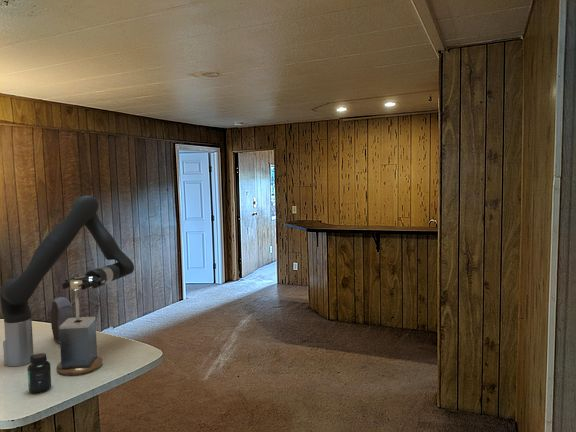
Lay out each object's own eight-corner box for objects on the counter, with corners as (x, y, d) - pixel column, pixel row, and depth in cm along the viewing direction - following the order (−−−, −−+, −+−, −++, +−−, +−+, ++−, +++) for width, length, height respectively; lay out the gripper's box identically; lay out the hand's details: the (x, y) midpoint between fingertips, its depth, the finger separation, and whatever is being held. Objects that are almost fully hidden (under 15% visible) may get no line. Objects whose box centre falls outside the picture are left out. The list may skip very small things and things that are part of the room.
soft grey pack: (50, 338, 201) (48, 295, 199) (70, 333, 206) (68, 291, 204) (60, 347, 189) (57, 301, 188) (80, 342, 195) (78, 298, 193)
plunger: (66, 343, 165) (63, 283, 163) (72, 336, 171) (69, 279, 169) (85, 341, 166) (82, 283, 164) (90, 335, 172) (88, 279, 170)
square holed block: (50, 377, 160) (47, 329, 159) (65, 359, 176) (62, 316, 174) (96, 374, 163) (94, 327, 161) (107, 357, 178) (105, 313, 177)
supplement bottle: (26, 395, 147) (24, 360, 146) (31, 386, 154) (29, 353, 153) (48, 392, 149) (46, 358, 148) (53, 383, 156) (51, 350, 155)
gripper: (83, 267, 182) (55, 276, 166) (114, 268, 179) (89, 277, 163) (84, 285, 182) (56, 295, 166) (115, 286, 180) (90, 297, 163)
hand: (72, 286), depth 165 cm, fingers open, 7 cm apart
